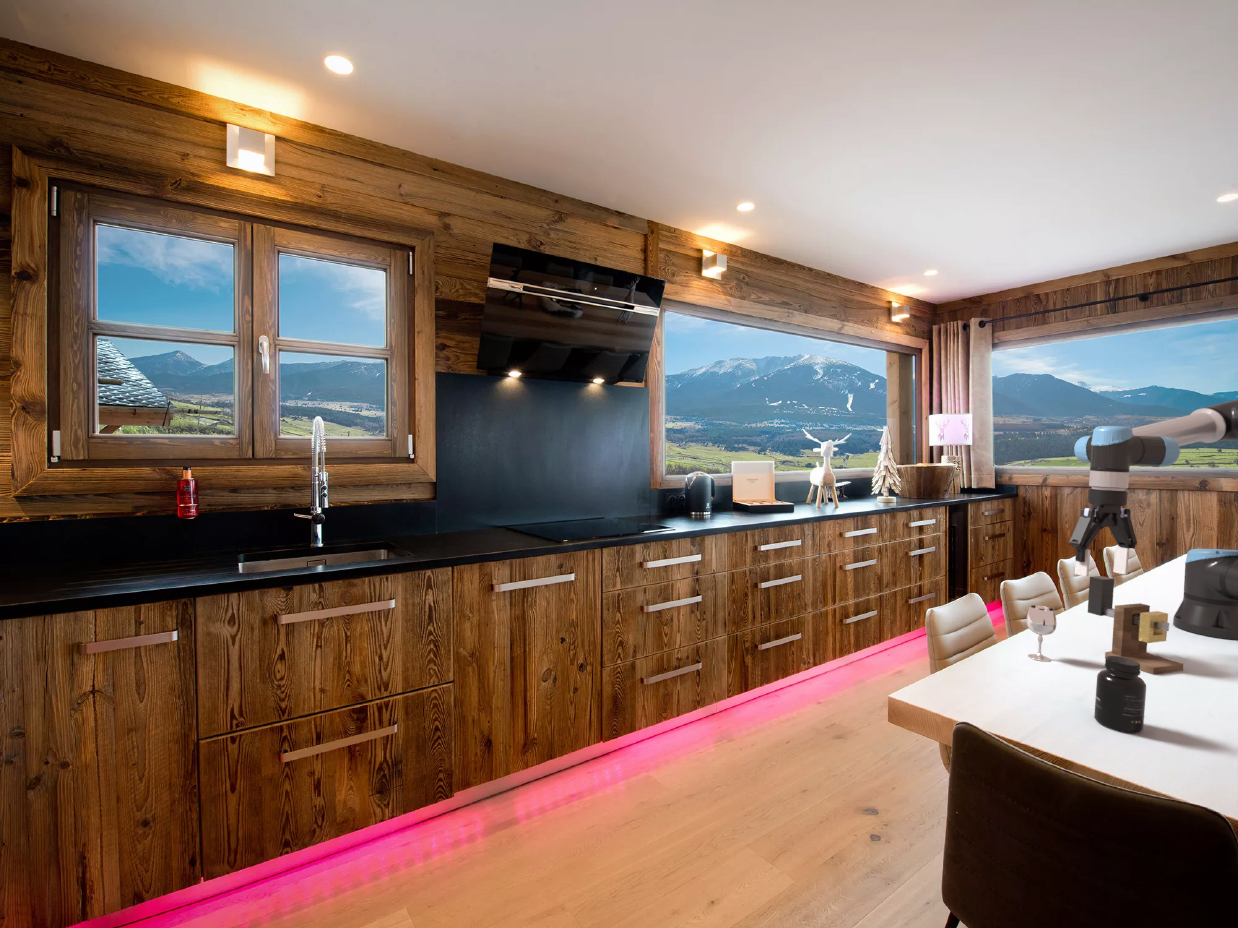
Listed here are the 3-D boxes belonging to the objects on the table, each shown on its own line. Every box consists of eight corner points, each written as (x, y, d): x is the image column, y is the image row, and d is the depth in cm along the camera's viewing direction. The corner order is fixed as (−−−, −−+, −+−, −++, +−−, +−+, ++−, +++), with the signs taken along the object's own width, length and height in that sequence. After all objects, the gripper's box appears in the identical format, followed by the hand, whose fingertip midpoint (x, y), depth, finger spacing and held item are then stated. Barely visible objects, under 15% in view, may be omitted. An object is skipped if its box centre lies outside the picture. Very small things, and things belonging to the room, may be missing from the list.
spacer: (1138, 640, 137) (1140, 612, 137) (1156, 638, 139) (1158, 611, 139) (1148, 642, 135) (1150, 615, 135) (1166, 640, 137) (1168, 613, 137)
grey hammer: (1087, 612, 149) (1089, 576, 148) (1098, 611, 150) (1101, 575, 150) (1160, 632, 134) (1162, 592, 134) (1171, 630, 135) (1174, 591, 135)
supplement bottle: (1084, 716, 111) (1088, 653, 110) (1118, 716, 111) (1122, 653, 111) (1118, 735, 104) (1122, 667, 103) (1154, 734, 104) (1158, 667, 104)
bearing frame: (1104, 658, 142) (1108, 604, 141) (1133, 654, 145) (1137, 601, 145) (1153, 674, 133) (1157, 616, 132) (1183, 670, 136) (1187, 614, 135)
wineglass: (1059, 663, 138) (1062, 612, 137) (1031, 661, 139) (1034, 610, 138) (1046, 654, 143) (1049, 605, 143) (1020, 652, 144) (1023, 603, 144)
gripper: (1125, 488, 154) (1119, 569, 155) (1055, 486, 146) (1049, 572, 147) (1159, 490, 147) (1152, 576, 148) (1087, 489, 139) (1080, 579, 140)
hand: (1101, 574), depth 147 cm, fingers open, 13 cm apart
